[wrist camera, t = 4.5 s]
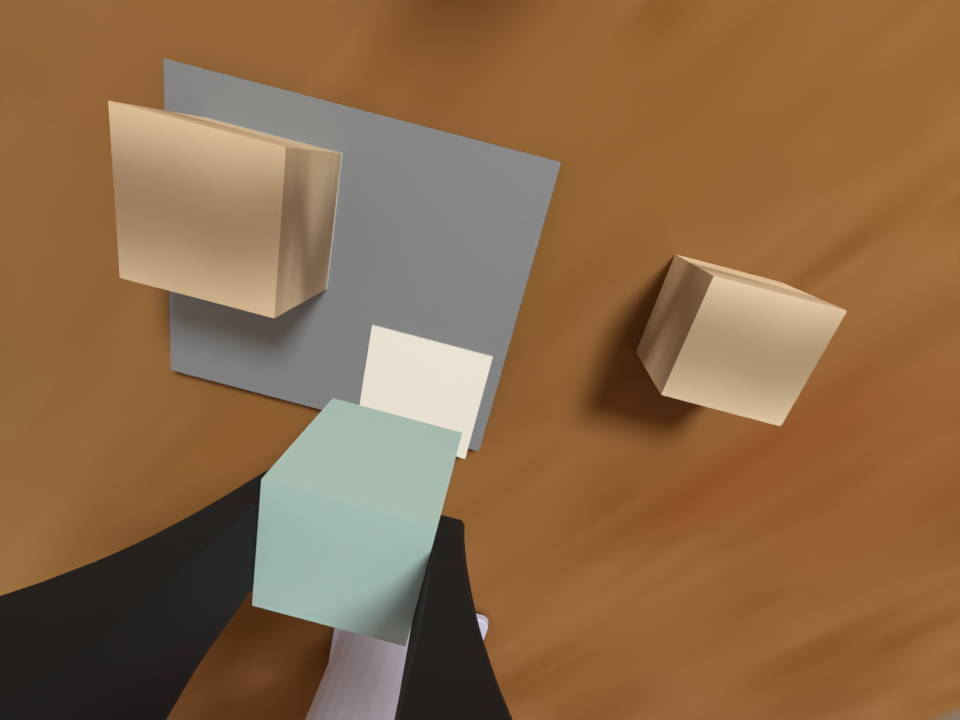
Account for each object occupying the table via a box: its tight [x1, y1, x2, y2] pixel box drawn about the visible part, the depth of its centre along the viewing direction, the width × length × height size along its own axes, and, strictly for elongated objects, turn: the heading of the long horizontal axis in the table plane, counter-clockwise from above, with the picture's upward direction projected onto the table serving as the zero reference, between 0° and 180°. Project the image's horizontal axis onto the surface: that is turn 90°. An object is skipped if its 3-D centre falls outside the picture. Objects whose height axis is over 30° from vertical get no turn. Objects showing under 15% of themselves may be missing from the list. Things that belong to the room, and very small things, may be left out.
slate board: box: [164, 59, 561, 459], centre depth 18 cm, size 12×14×1 cm
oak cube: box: [108, 101, 341, 318], centre depth 15 cm, size 5×5×4 cm
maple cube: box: [636, 254, 847, 426], centre depth 16 cm, size 4×4×4 cm
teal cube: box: [252, 398, 462, 646], centre depth 13 cm, size 4×4×4 cm
